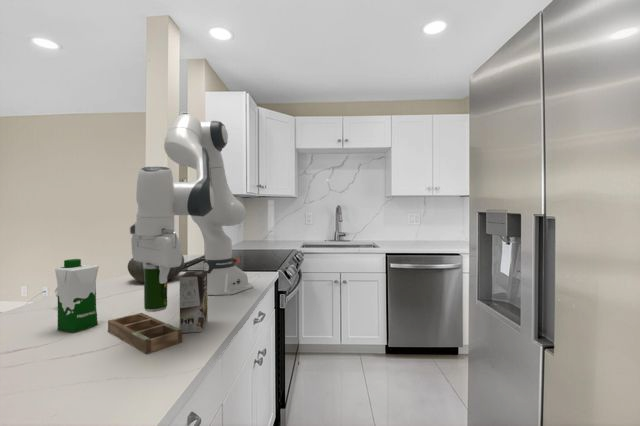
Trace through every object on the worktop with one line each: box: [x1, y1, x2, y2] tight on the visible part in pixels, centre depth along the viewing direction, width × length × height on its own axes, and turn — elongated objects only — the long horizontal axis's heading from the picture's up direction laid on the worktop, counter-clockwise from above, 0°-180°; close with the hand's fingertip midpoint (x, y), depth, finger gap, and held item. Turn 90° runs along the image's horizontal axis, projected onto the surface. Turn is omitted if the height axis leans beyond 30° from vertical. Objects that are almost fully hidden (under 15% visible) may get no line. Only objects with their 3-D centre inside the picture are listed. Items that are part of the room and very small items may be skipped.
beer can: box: [143, 263, 168, 313], centre depth 85 cm, size 5×5×12 cm
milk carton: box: [54, 258, 100, 334], centre depth 97 cm, size 9×9×20 cm
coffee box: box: [179, 270, 209, 334], centre depth 97 cm, size 9×6×16 cm
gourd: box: [127, 254, 185, 284], centre depth 161 cm, size 25×25×17 cm
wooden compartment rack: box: [107, 312, 183, 355], centre depth 90 cm, size 9×24×3 cm, turn 52°
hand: (156, 281), depth 85 cm, fingers closed on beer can, 5 cm apart
